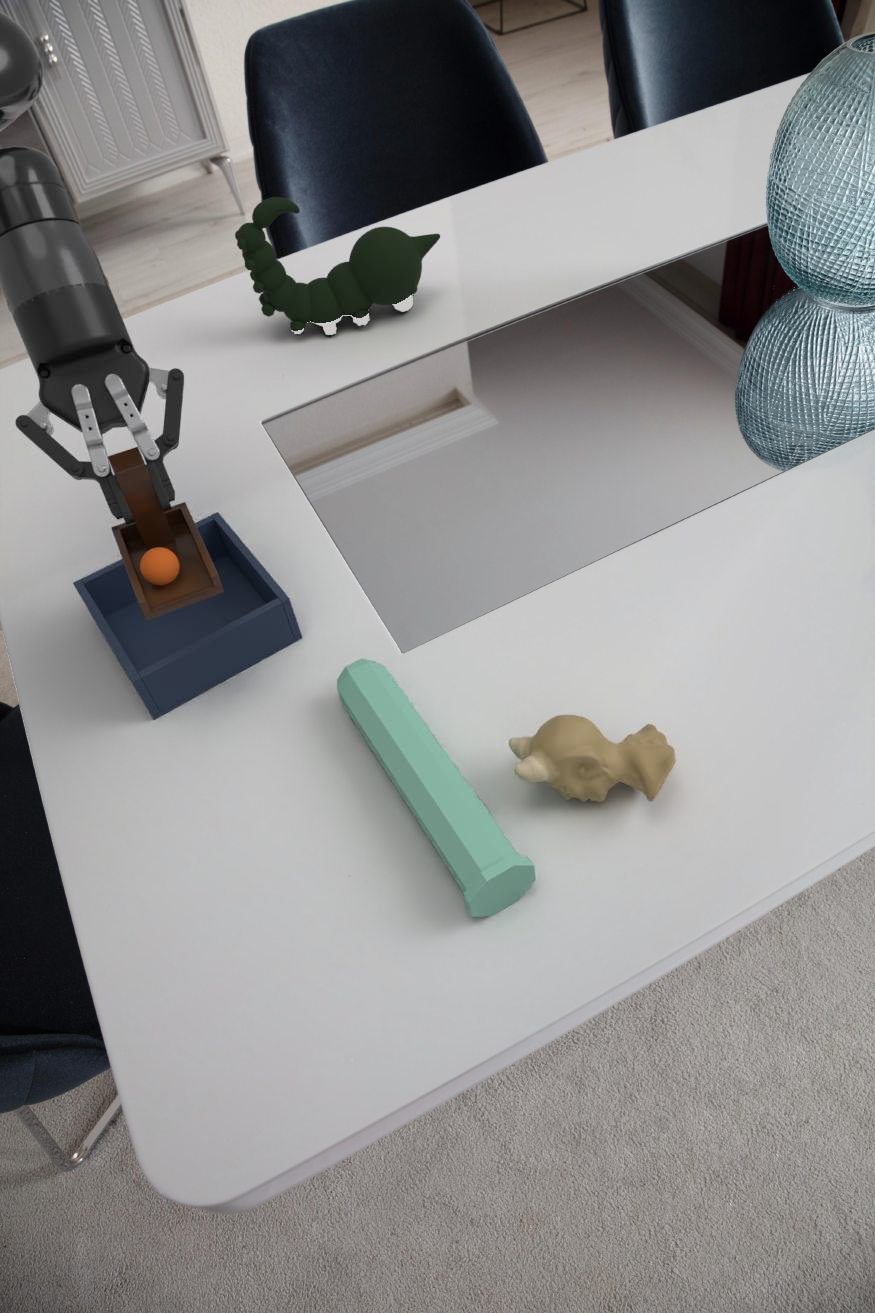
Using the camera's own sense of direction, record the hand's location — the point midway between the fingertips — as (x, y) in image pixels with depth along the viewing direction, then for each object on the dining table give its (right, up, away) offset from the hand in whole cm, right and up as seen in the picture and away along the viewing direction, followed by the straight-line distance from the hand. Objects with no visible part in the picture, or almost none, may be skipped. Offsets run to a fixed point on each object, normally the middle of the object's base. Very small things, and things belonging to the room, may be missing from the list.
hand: (149, 515), depth 73 cm
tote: (-1, -8, +18) cm, 20 cm away
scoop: (+1, -4, +3) cm, 5 cm away
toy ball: (+1, -4, 0) cm, 4 cm away
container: (+22, -22, +4) cm, 31 cm away
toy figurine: (+12, +34, +52) cm, 64 cm away
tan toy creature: (+35, -21, +2) cm, 41 cm away
